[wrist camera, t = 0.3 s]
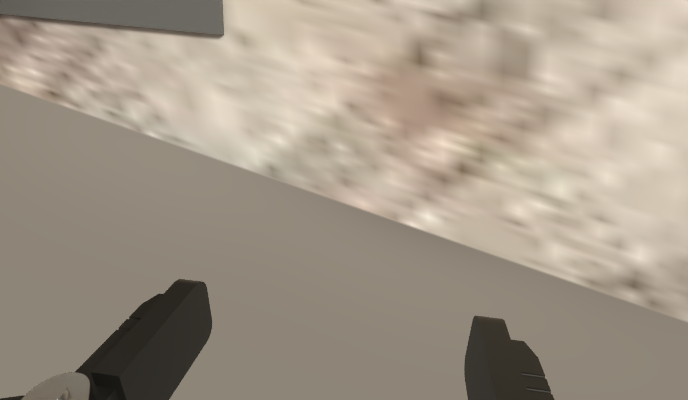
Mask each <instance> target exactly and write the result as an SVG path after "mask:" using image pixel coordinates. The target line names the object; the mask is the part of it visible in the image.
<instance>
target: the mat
mask: <svg viewBox="0 0 688 400" xmlns="http://www.w3.org/2000/svg"><path fill="white" fill-rule="evenodd" d="M0 14H7V15H17V16H28V17H38V18H49V19H59V20H70V21H80V22H91V23H101V24H112V25H122V26H133V27H143V28H153V29H164V30H174V31H185V32H195V33H206V34H216V35H224V25H223V4H222V0H0Z"/></svg>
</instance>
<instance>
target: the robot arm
mask: <svg viewBox="0 0 688 400" xmlns="http://www.w3.org/2000/svg"><path fill="white" fill-rule="evenodd" d="M211 329H212V317H211V311H210V305H209V298H208V292H207V287H206V284H205V283H204V282H200V281H192V280H184V279H179V280H177V281H176V282H174V284H172V286H171V287H170V288H169V289H168V290H167V291H166V292H165V293H164V294H158V295H156V296H154V297H153V298H151V299H150V300H148V301H146V302H144V303H143V304H142V305H140V306H139V307H138V309H137V310H136V311H135V312H134V313H133V314H132V315H131V316H130V317H129V319H127V320H126V321H125V322H124V323H123V324H122V325H121V326H120V327H119V330H116V331H115V332H114V333H113V334H112V335H111V336H110V337H109V338H108V339H107V340H106V341H105V342H104V343H103V344H102V345H101V346H100V347H99V348H98V349H97V350H96V351H95V352H94V353H93V354H92V355H91V356H90V357H89V359H88V360H86V361H85V363H83V365H82V366H81V367H80V368H79V369H78V370H77V371H76V372H71V373H64V374H60V375H56V376H54V377H52V378H49V379H47V380H45V381H43V382H41V383H40V384H38V385H37V386H35V387H34V388H33V389H31V390H30V391H29V392H28V393H27V394H26V395H25V396H17V397H9V398H2V399H0V400H169V399H170V397H171V396H172V394H173V392H174V391H175V390H176V388H177V386H178V385H179V383H180V382H181V380H182V379H183V377H184V376H185V374H186V373H187V371H188V370H189V368H190V367H191V365H192V363H193V362H194V360H195V359H196V357H197V356H198V354H199V353H200V351H201V350H202V348H203V347H204V345H205V344H206V342H207V340H208V338H209V336H210V333H211ZM465 382H466V389H467V395H468V400H554V398H553V395H552V394H551V390H550V387H549V385H548V382H547V380H546V379H545V374H544V372H543V369H542V367H541V364H540V362H539V359H538V357H537V356H536V355H535V354H534V353H533V351H532V350H531V349H530V348H529V347H528V346H527V344H526V343H525V342H524V341H517V340H511V339H510V336H509V333H508V330H507V327H506V324H505V321H504V320H503V319H498V318H490V317H482V316H474V318H473V322H472V327H471V331H470V336H469V341H468V346H467V351H466V356H465Z"/></svg>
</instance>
